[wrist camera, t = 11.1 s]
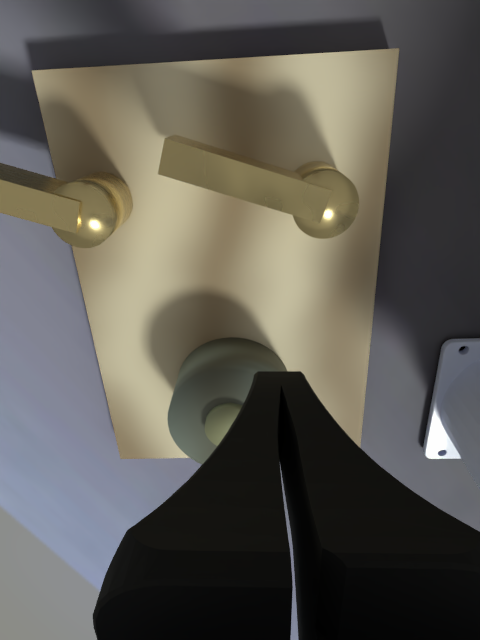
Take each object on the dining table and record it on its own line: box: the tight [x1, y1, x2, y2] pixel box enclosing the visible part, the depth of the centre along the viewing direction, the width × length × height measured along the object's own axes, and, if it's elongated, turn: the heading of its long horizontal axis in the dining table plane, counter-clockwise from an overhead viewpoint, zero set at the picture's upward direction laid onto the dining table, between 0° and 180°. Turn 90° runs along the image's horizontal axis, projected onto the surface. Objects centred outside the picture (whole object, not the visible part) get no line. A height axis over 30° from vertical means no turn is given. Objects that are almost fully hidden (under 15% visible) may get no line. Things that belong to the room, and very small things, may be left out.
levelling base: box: [32, 48, 399, 464], centre depth 20 cm, size 14×20×5 cm
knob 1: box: [0, 163, 133, 248], centre depth 17 cm, size 2×7×3 cm, turn 74°
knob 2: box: [158, 134, 359, 239], centre depth 16 cm, size 2×7×3 cm, turn 74°
